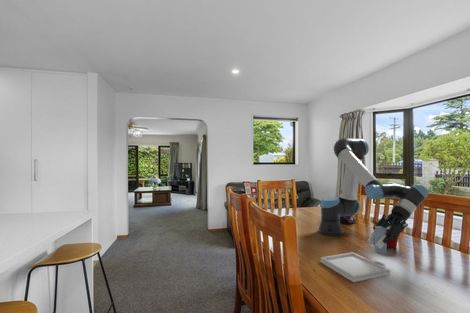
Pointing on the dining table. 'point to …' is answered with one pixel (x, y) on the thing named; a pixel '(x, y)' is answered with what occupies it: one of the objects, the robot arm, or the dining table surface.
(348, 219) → the decorative bottle
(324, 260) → the tray
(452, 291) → the dining table surface
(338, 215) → the robot arm
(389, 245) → the plastic cup
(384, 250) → the dowel pin
